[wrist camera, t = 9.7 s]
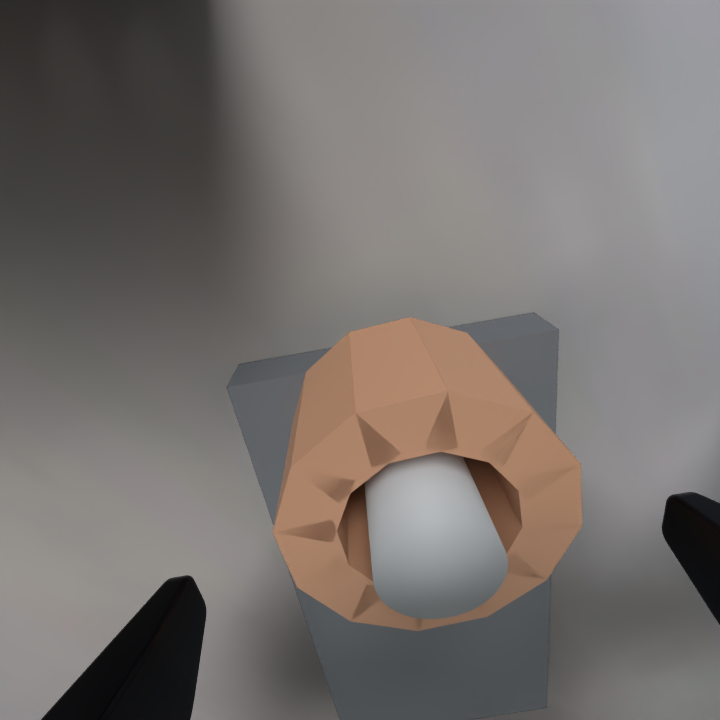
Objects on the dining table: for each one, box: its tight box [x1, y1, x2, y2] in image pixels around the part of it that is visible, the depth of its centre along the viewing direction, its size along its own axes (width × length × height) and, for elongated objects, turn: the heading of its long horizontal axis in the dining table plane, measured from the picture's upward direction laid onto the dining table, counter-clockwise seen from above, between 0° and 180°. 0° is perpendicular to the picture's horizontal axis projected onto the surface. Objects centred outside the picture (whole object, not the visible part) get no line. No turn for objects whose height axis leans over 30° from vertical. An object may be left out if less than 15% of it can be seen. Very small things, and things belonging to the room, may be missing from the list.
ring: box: [273, 317, 582, 631], centre depth 10 cm, size 6×6×4 cm
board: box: [227, 313, 559, 720], centre depth 13 cm, size 18×9×6 cm, turn 10°
